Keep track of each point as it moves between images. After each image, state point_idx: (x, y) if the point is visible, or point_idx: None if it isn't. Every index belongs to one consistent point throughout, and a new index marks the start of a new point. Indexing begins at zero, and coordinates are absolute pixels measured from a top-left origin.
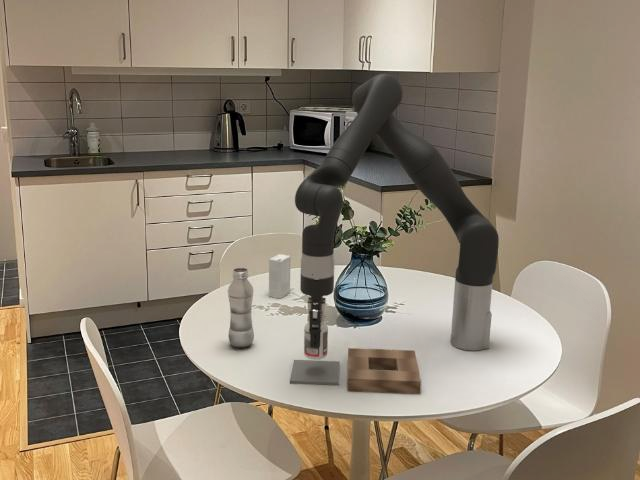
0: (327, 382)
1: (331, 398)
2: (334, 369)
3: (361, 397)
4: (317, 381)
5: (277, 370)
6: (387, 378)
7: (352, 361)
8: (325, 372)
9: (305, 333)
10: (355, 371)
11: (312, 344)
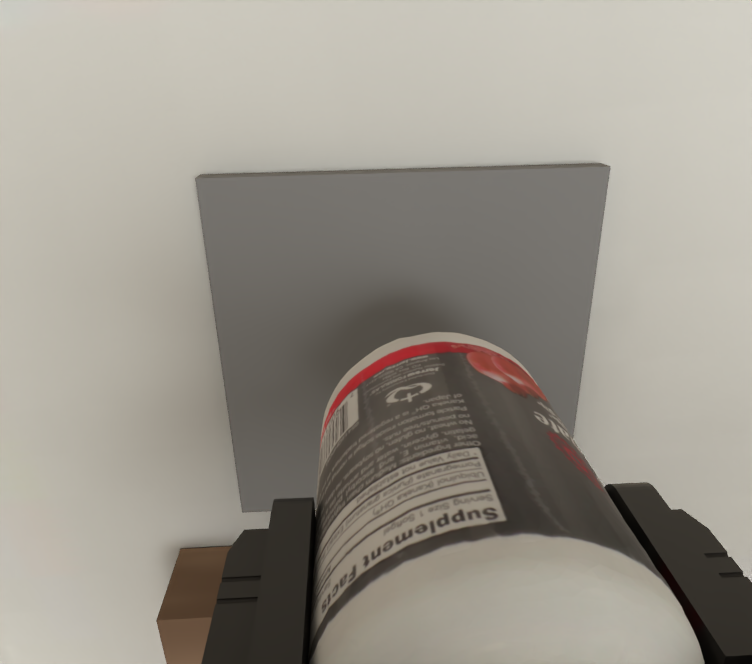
0: (233, 448)
1: (53, 474)
2: None
3: (121, 614)
4: (231, 386)
5: (432, 26)
6: None
7: None
8: None
9: (406, 522)
10: None
11: (228, 557)
